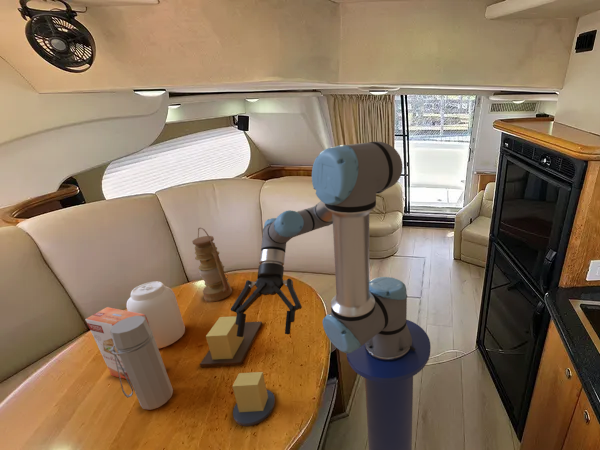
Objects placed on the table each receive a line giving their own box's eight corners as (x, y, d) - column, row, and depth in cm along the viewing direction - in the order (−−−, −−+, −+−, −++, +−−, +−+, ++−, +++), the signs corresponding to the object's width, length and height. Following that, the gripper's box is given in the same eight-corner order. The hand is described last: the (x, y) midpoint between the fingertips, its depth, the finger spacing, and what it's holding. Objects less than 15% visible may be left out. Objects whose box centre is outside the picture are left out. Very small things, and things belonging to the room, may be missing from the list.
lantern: (242, 290, 133) (228, 224, 122) (224, 304, 124) (207, 234, 113) (213, 285, 137) (196, 221, 126) (193, 299, 127) (173, 231, 116)
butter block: (244, 338, 104) (239, 316, 101) (232, 358, 96) (226, 335, 93) (225, 339, 104) (219, 316, 101) (212, 359, 96) (205, 336, 92)
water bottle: (172, 382, 89) (146, 310, 80) (176, 401, 83) (148, 326, 74) (131, 401, 84) (98, 325, 74) (132, 422, 78) (96, 343, 69)
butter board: (262, 324, 113) (261, 321, 112) (241, 364, 95) (240, 361, 95) (228, 325, 112) (227, 322, 112) (200, 367, 94) (199, 364, 94)
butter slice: (268, 397, 84) (262, 371, 80) (263, 410, 80) (257, 384, 77) (245, 398, 83) (238, 373, 80) (239, 412, 79) (232, 386, 76)
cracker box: (109, 377, 91) (83, 318, 83) (131, 361, 96) (107, 305, 89) (147, 387, 88) (123, 327, 80) (167, 370, 93) (146, 312, 86)
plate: (281, 393, 86) (281, 390, 86) (263, 428, 77) (262, 425, 76) (247, 390, 87) (246, 387, 86) (225, 424, 78) (224, 421, 77)
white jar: (131, 346, 103) (111, 294, 95) (168, 322, 114) (152, 274, 106) (159, 354, 99) (140, 301, 92) (194, 329, 110) (179, 280, 103)
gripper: (313, 267, 104) (309, 334, 96) (236, 270, 102) (225, 338, 94) (308, 260, 97) (304, 331, 89) (226, 263, 96) (213, 336, 87)
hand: (263, 335), depth 91 cm, fingers open, 13 cm apart
